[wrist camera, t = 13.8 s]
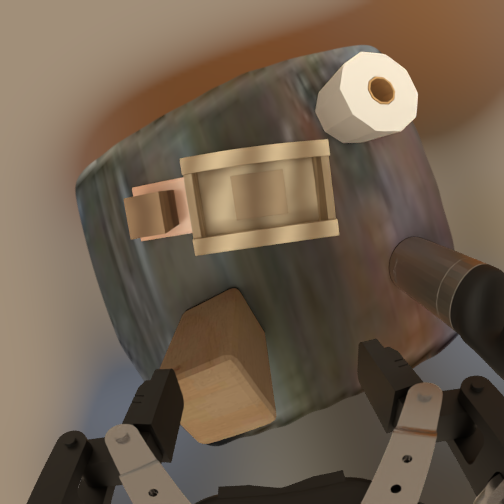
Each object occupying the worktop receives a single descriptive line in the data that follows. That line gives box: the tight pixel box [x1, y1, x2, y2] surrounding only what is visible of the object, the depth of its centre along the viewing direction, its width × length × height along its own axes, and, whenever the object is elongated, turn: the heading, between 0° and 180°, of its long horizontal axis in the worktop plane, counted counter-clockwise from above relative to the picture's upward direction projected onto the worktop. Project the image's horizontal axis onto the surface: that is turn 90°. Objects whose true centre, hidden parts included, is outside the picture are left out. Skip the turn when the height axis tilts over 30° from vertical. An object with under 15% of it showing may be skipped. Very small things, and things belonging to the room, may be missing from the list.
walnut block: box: [124, 190, 179, 239], centre depth 37 cm, size 4×5×8 cm
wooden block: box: [160, 288, 276, 444], centre depth 36 cm, size 10×10×20 cm
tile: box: [132, 177, 193, 241], centre depth 41 cm, size 8×8×1 cm
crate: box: [180, 139, 339, 256], centre depth 38 cm, size 18×12×7 cm, turn 98°
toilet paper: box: [315, 52, 418, 143], centre depth 33 cm, size 10×10×12 cm
